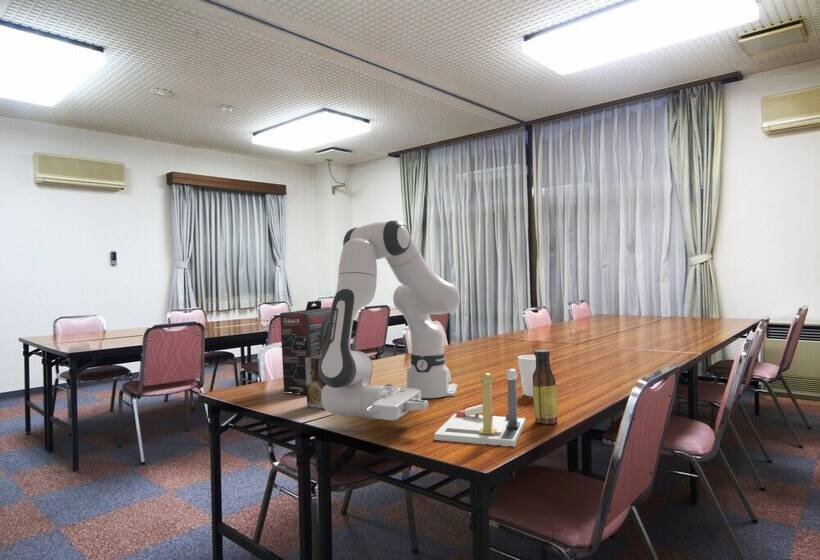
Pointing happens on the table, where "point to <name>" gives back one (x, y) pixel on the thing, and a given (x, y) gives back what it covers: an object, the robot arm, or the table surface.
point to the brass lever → (487, 404)
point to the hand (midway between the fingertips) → (426, 405)
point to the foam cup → (527, 372)
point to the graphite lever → (512, 398)
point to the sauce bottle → (544, 390)
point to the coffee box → (313, 382)
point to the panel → (469, 427)
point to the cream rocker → (474, 410)
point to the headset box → (302, 342)
